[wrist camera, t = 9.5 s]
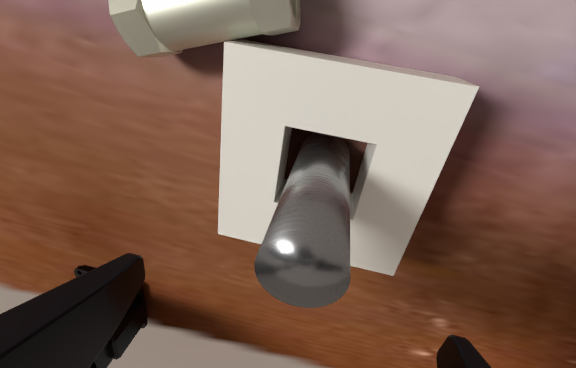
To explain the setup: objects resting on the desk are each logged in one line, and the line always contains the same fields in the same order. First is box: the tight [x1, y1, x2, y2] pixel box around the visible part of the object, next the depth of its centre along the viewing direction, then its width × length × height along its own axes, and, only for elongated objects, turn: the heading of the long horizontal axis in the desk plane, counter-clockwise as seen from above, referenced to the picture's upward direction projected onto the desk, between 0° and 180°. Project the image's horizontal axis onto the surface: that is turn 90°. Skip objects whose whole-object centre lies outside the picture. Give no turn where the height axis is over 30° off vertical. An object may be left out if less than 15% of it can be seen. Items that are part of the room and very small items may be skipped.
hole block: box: [218, 40, 479, 276], centre depth 16 cm, size 11×11×3 cm
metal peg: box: [255, 132, 350, 308], centre depth 13 cm, size 3×3×10 cm
